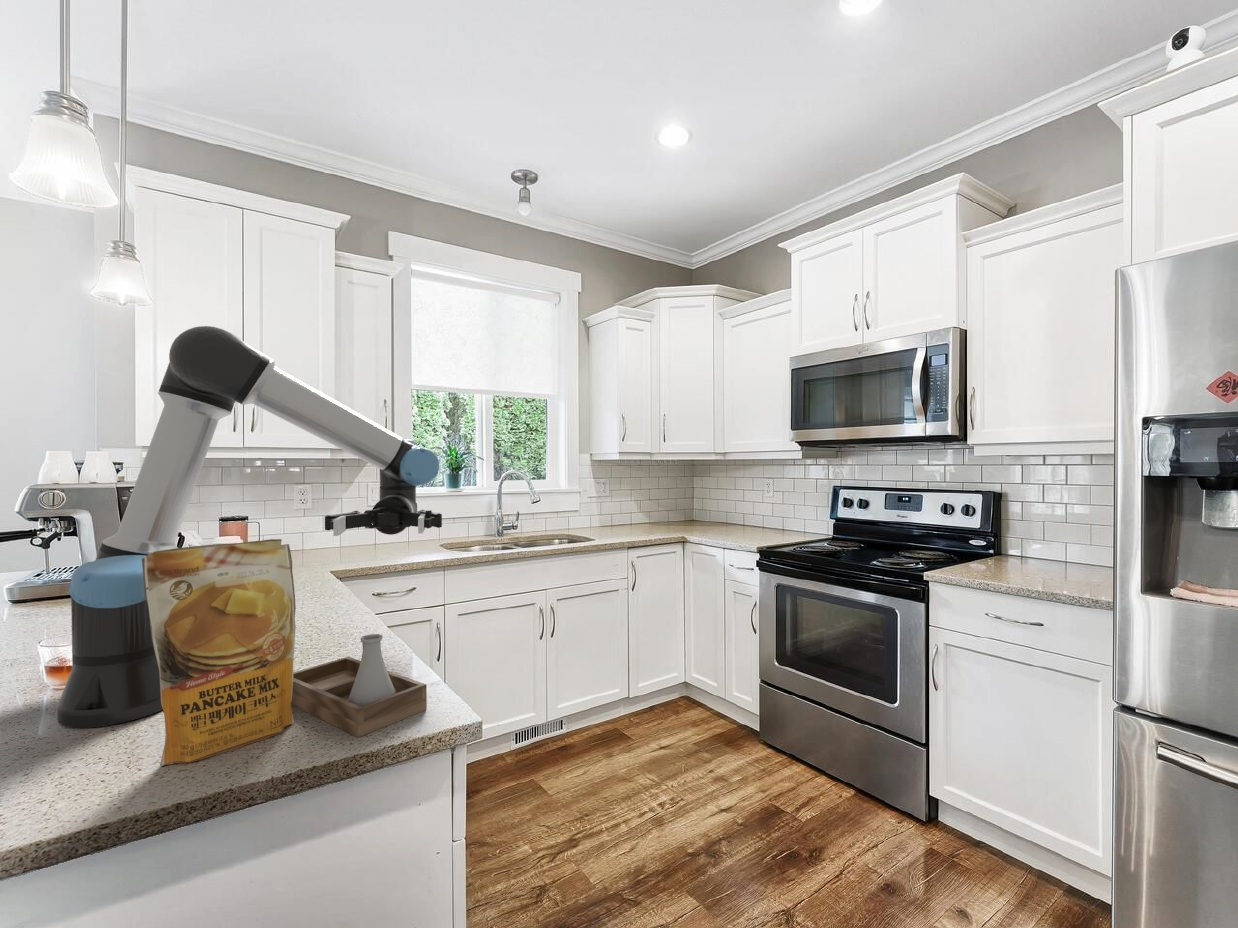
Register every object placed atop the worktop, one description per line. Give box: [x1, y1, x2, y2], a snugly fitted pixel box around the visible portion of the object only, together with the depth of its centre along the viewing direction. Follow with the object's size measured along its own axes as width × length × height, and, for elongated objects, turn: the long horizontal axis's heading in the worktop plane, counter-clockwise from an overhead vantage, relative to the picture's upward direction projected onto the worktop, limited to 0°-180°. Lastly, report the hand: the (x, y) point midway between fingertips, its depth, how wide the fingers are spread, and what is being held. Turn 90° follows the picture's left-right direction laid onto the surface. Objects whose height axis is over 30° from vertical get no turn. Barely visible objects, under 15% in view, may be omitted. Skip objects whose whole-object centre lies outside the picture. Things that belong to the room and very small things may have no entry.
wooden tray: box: [291, 656, 428, 738], centre depth 98 cm, size 22×12×4 cm, turn 55°
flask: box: [348, 633, 396, 707], centre depth 94 cm, size 7×7×10 cm
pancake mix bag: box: [142, 538, 297, 767], centre depth 85 cm, size 7×19×28 cm, turn 140°
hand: (378, 526), depth 104 cm, fingers open, 13 cm apart
